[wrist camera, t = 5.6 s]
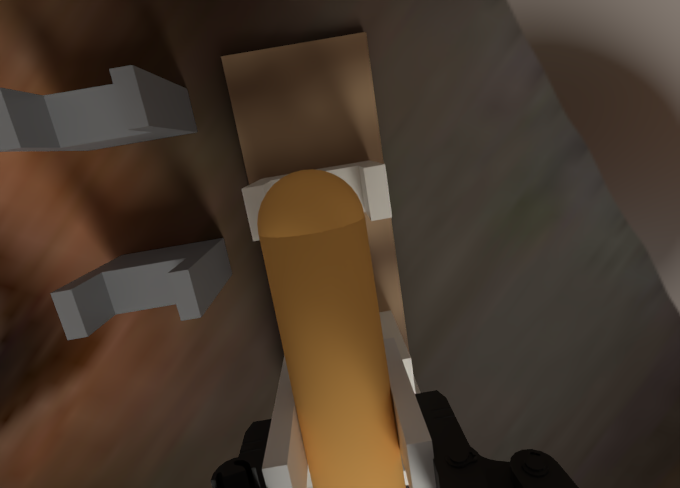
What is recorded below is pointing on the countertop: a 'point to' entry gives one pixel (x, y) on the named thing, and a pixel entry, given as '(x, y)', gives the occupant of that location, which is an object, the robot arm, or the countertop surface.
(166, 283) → the grey cradle stand
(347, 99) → the clip rail
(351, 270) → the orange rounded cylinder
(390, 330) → the clips
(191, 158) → the countertop surface
